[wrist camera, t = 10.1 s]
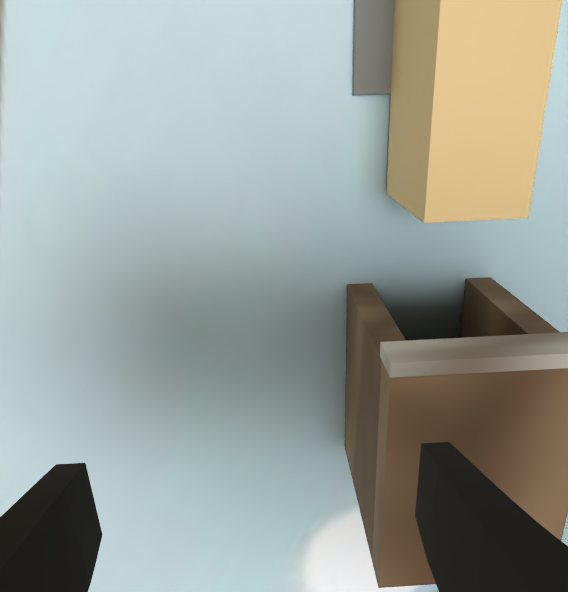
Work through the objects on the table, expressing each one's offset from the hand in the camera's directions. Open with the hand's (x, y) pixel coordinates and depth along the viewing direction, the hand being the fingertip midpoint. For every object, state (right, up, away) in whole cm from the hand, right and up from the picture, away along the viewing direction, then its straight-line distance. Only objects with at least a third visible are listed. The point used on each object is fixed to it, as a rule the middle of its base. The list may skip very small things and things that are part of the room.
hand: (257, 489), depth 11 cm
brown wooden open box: (+6, +1, +11) cm, 12 cm away
